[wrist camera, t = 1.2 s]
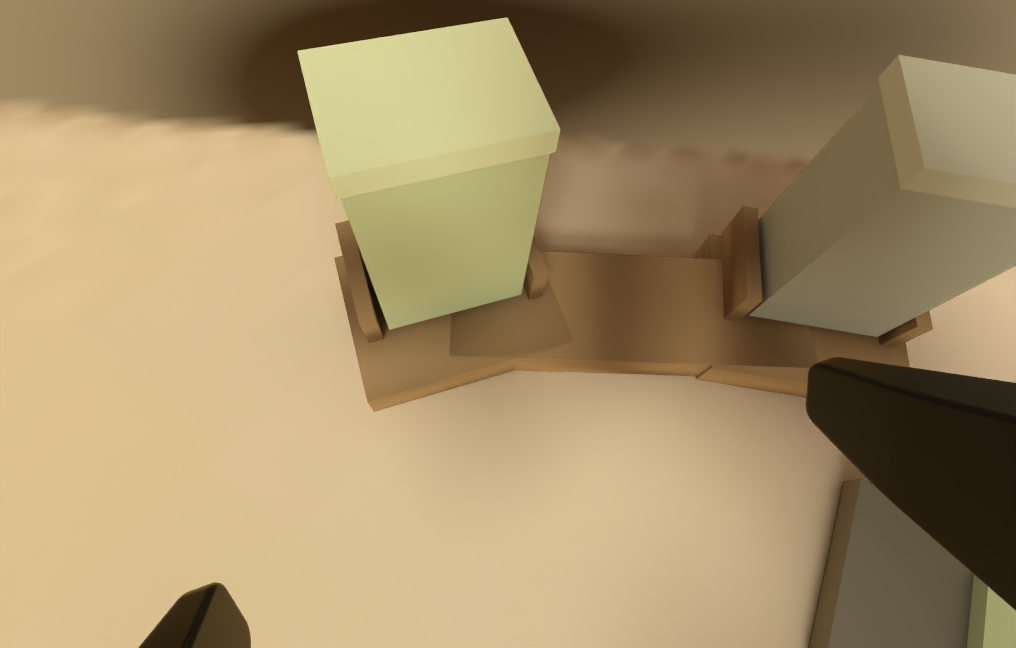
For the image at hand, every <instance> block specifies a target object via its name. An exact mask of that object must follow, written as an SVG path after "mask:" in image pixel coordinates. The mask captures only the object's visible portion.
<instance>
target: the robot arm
mask: <svg viewBox="0 0 1016 648" xmlns="http://www.w3.org/2000/svg"><path fill="white" fill-rule="evenodd" d="M806 411H807V414H808V416H809V418H810V419H811V421H812V422H813V423H814V424H815V425H816V426H817V427H818V428H819V429H820V430H821V432H822V433H823V434H824V435H825V436H826V437H827V438H828V439H829V440H830V441H831V442H832V443H833V444H834V445H835V446H836V447H837V448H838V449H839V450H840V451H841V452H842V453H843V454H844V455H845V456H846V457H847V458H848V459H849V460H850V461H851V462H852V463H853V465H854V466H855V467H856V468H857V469H858V470H859V471H860V472H861V473H862V474H863V475H864V476H865V477H866V478H867V479H868V480H869V481H870V482H871V483H872V484H873V485H874V486H875V487H876V488H877V489H878V490H879V491H880V492H881V493H882V494H883V495H884V496H885V497H886V498H887V499H888V500H890V501H891V502H892V503H893V504H894V505H895V506H896V507H897V508H898V509H899V510H901V511H902V512H903V513H904V514H905V515H906V516H908V517H909V518H910V519H911V520H912V521H913V522H914V523H916V524H917V525H918V526H919V527H920V528H921V529H922V530H924V531H925V532H926V533H927V534H928V535H929V536H930V537H932V538H933V539H934V540H935V541H936V542H937V543H938V544H940V545H941V546H942V547H943V548H944V549H945V550H947V551H948V552H949V553H950V554H951V555H952V556H953V557H955V558H956V559H957V560H958V561H959V562H960V563H961V564H963V565H964V566H965V567H966V568H967V569H968V570H969V571H971V572H972V573H973V574H974V575H975V576H976V577H977V578H979V579H980V580H981V581H982V582H983V583H984V584H986V585H987V586H988V587H989V588H990V589H991V590H992V591H994V592H995V593H996V594H997V595H998V596H999V597H1000V598H1002V599H1003V600H1004V601H1005V602H1006V603H1007V604H1008V605H1010V606H1011V607H1012V608H1013V609H1014V610H1015V611H1016V383H1012V382H1005V381H999V380H992V379H985V378H978V377H972V376H965V375H958V374H951V373H945V372H938V371H931V370H924V369H917V368H911V367H904V366H897V365H890V364H884V363H877V362H870V361H863V360H857V359H850V358H843V357H832V358H829V359H826V360H823V361H820V362H818V363H815V364H813V365H812V366H811V367H810V369H809V371H808V380H807V393H806ZM139 648H251V638H250V631H249V627H248V624H247V622H246V620H245V618H244V617H243V615H242V613H241V612H240V610H239V608H238V607H237V605H236V604H235V602H234V600H233V599H232V597H231V595H230V594H229V592H228V591H227V589H226V588H225V587H224V585H222V584H221V583H211V584H208V585H205V586H203V587H200V588H197V589H194V590H192V591H189V592H187V593H185V594H183V595H182V596H181V597H180V598H179V599H178V600H177V601H176V603H175V604H174V605H173V606H172V607H171V609H170V610H169V611H168V612H167V614H166V615H165V616H164V617H163V618H162V620H161V621H160V622H159V623H158V624H157V626H156V627H155V628H154V629H153V631H152V632H151V633H150V634H149V635H148V637H147V638H146V639H145V640H144V642H143V643H142V644H141V645H140V646H139Z"/></svg>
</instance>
